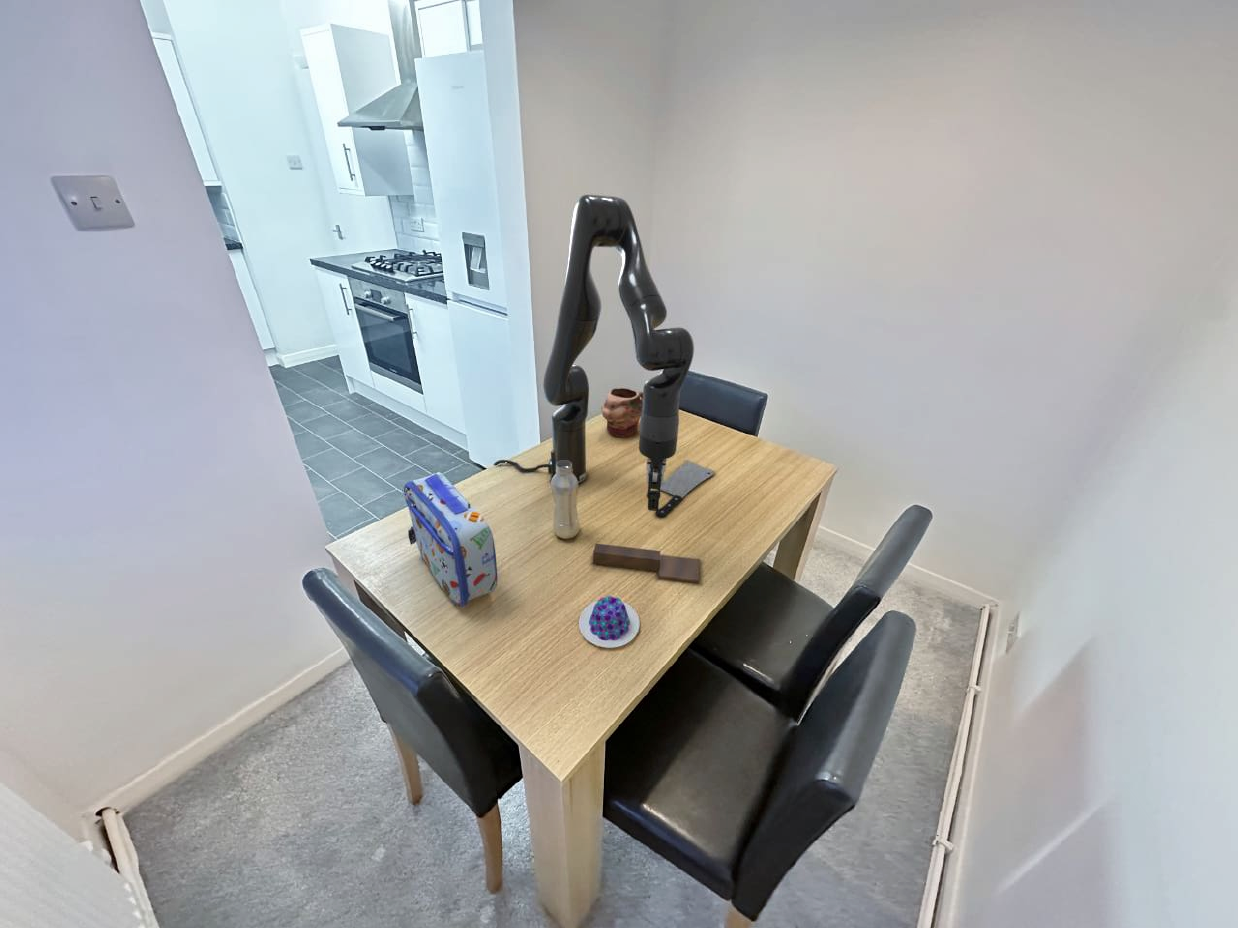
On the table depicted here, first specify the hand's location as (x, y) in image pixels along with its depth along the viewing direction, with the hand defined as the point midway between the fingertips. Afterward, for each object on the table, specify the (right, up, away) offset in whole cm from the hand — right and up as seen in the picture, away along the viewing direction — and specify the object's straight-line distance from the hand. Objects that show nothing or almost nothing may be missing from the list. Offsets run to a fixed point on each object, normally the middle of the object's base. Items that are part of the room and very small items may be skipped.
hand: (654, 498), depth 105 cm
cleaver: (+9, 0, +34) cm, 35 cm away
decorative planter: (-6, +19, +65) cm, 68 cm away
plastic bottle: (-20, -10, +16) cm, 28 cm away
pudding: (-9, -25, -7) cm, 28 cm away
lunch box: (-44, -17, +4) cm, 47 cm away
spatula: (-1, -16, +7) cm, 17 cm away
